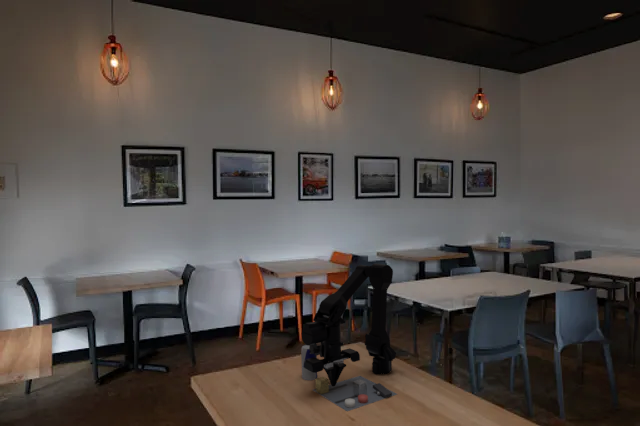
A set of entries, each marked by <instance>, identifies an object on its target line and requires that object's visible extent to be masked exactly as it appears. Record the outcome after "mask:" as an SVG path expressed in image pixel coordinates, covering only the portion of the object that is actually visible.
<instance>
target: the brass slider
mask: <svg viewBox="0 0 640 426" xmlns="http://www.w3.org/2000/svg"><path fill="white" fill-rule="evenodd" d="M329 382H330V380H329V378H326V377H325V376H321V377H317V378H316V379H315V389H316V391H317V392H318V393H320V394H323V393H327V392H329V385H330V384H329ZM318 393H317V394H318Z"/></svg>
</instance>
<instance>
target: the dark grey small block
mask: <svg viewBox="0 0 640 426" xmlns="http://www.w3.org/2000/svg"><path fill="white" fill-rule="evenodd" d="M373 389H375V390H376V391H377V395H380V394H381V395H382V396H383V397H384V398H385V399H387V397H388V398H391V397H393V396H392V392H393V391H392V392H390V391H391V390H390V389H389V388H387V387H385V386H384V385H383V384H382V383H381V382H378V383H376V384H375V385H373ZM389 390H390V391H389ZM390 396H391V397H390Z"/></svg>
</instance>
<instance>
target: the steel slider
mask: <svg viewBox="0 0 640 426" xmlns="http://www.w3.org/2000/svg"><path fill="white" fill-rule="evenodd" d="M353 394H354V395H356V396H358V395H360V394H365V395H367V385H366V382H365V381H363V380H361V379H360V380H356V381H353Z"/></svg>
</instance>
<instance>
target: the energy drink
mask: <svg viewBox="0 0 640 426" xmlns="http://www.w3.org/2000/svg"><path fill="white" fill-rule="evenodd" d="M309 347H310V345H309V346H308V345H306V344H304V345H302V346H301V349H300V350H301V353H300V356H301V359H300V360H301V378H302V380H304V381H313V380H315V381H316V379H317V378H318V372H316V373H313V372H311V371H309V370H307V369H305V368H304V362H305V360H306V359H309V358H313V357H316V358H318V355H317V356H315V354H311V353H310V350H309Z"/></svg>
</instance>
